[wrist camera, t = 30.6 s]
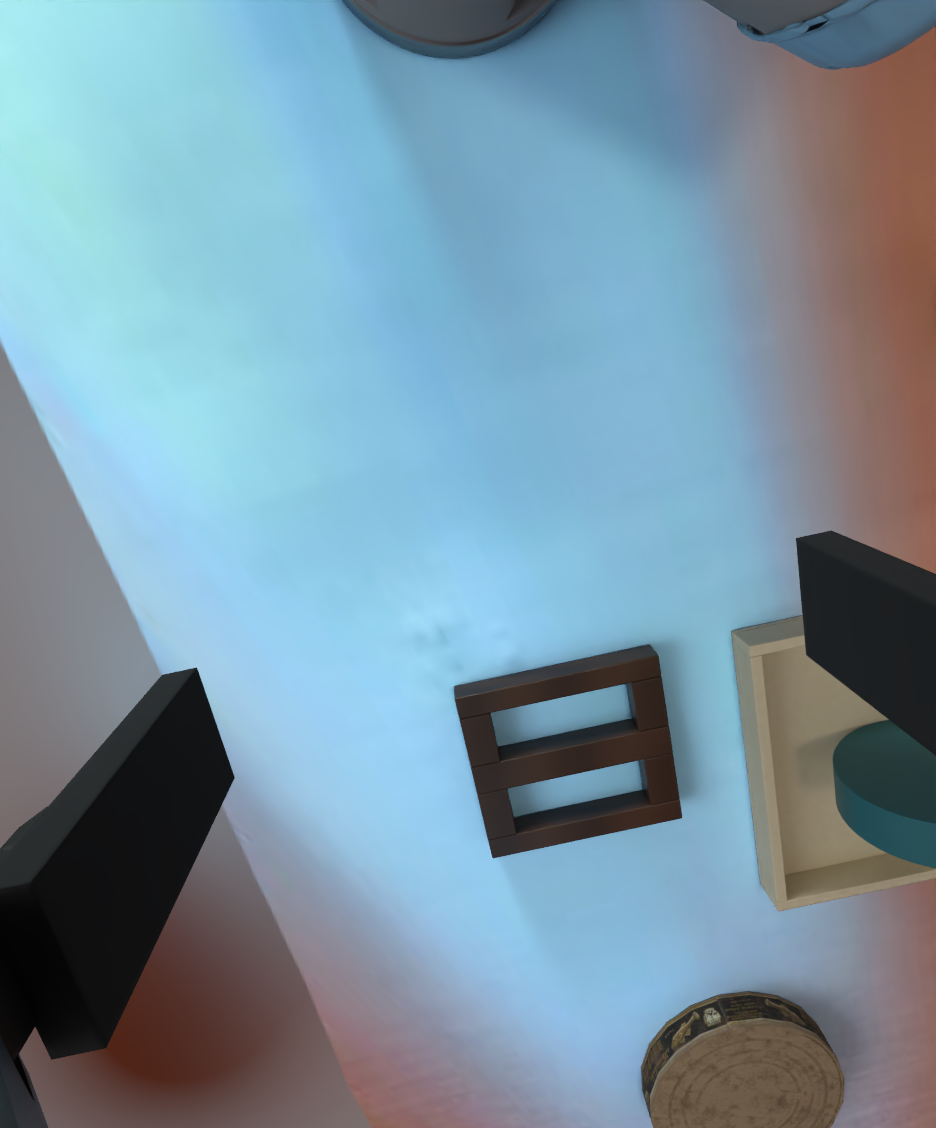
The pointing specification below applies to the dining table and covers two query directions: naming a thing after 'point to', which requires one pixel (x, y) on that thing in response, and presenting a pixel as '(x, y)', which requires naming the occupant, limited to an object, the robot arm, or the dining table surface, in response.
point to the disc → (888, 791)
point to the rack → (571, 751)
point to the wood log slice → (742, 1067)
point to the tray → (803, 773)
